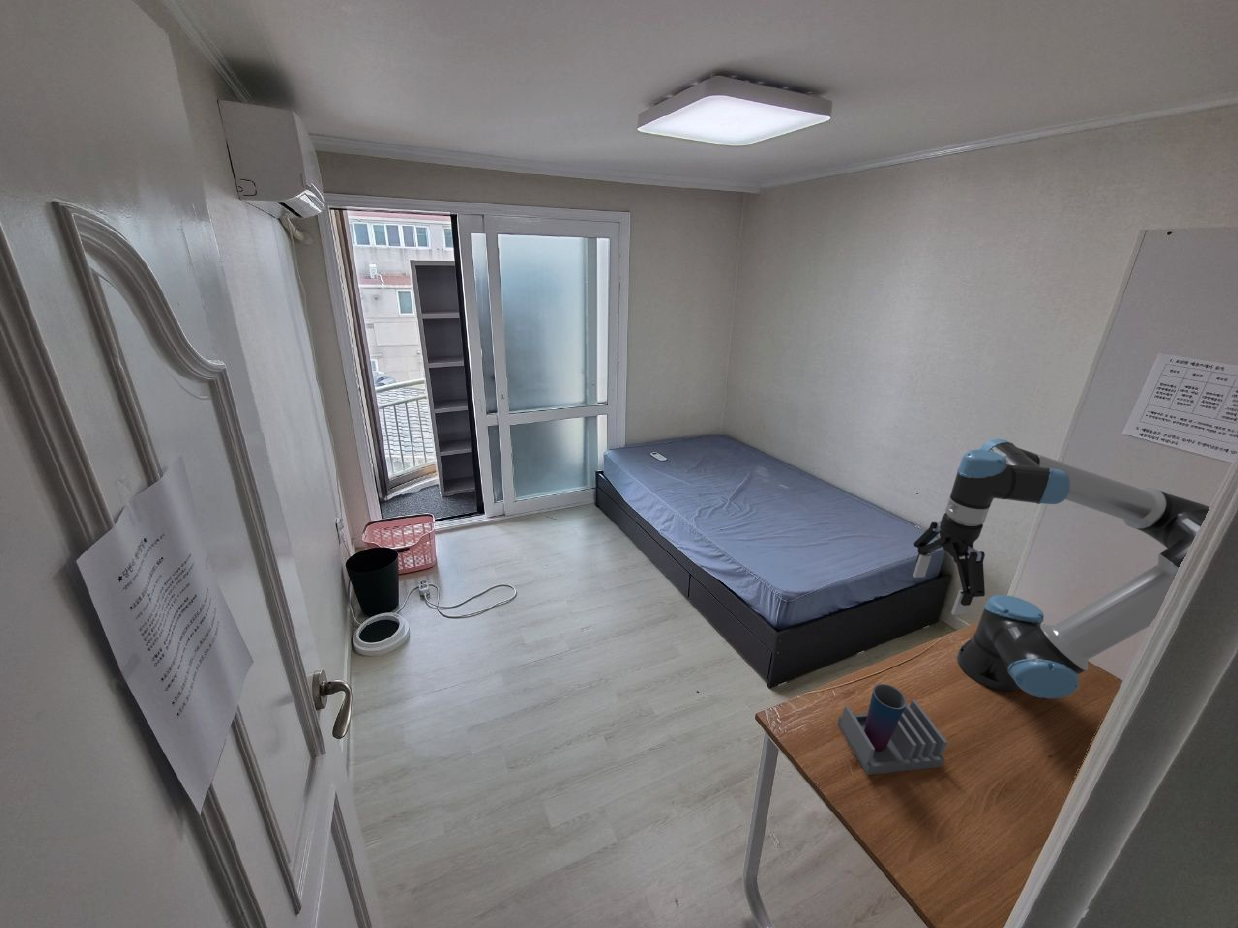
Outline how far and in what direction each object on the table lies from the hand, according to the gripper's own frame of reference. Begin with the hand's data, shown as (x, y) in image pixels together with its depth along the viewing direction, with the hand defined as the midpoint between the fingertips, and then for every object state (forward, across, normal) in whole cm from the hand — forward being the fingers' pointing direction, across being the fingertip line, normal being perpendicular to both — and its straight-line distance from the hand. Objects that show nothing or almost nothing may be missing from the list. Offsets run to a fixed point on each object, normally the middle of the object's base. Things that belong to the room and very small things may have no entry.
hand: (937, 594), depth 119 cm
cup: (+31, +14, -18) cm, 38 cm away
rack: (+32, +14, -14) cm, 38 cm away
